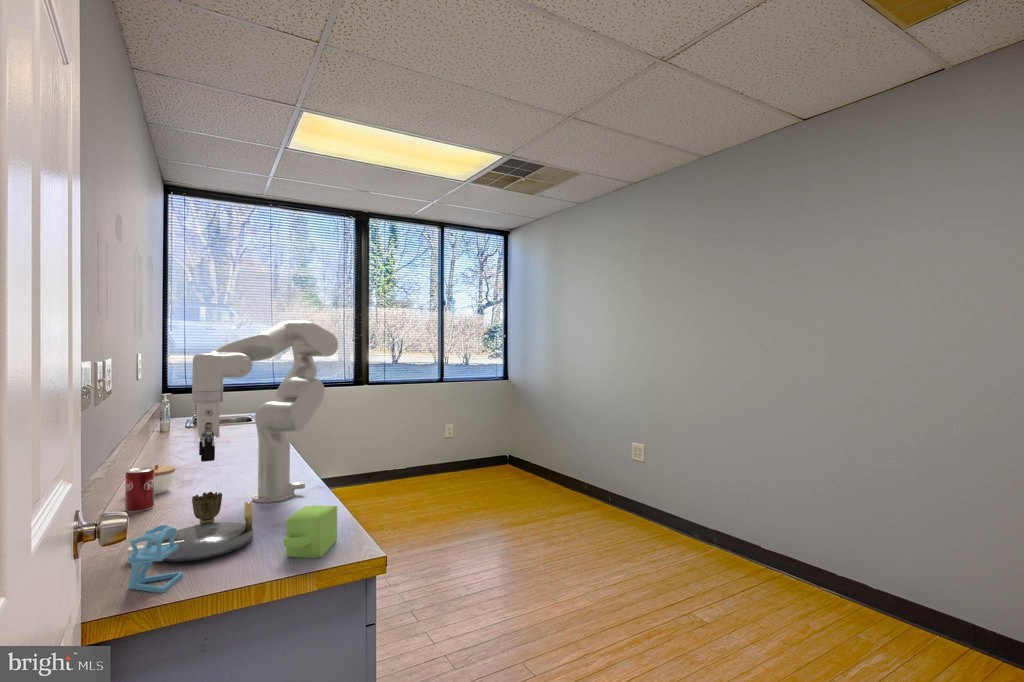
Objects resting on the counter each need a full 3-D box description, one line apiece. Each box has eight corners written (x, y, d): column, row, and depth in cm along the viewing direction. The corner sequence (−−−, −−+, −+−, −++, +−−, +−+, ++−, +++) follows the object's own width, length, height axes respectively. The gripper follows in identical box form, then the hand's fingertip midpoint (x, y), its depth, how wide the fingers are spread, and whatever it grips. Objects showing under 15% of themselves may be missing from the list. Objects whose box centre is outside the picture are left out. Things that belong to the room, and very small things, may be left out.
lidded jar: (137, 498, 166) (137, 470, 166) (135, 491, 174) (136, 463, 174) (176, 492, 173) (177, 465, 173) (173, 485, 181) (173, 459, 181)
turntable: (246, 521, 142) (246, 491, 142) (259, 547, 124) (259, 513, 124) (150, 538, 129) (150, 505, 129) (148, 569, 111) (148, 532, 111)
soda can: (122, 514, 151) (122, 473, 151) (127, 507, 157) (128, 468, 157) (152, 510, 154) (152, 471, 154) (156, 504, 160) (156, 466, 160)
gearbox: (306, 534, 136) (306, 498, 136) (343, 535, 135) (343, 499, 136) (272, 563, 118) (273, 522, 118) (314, 564, 117) (315, 523, 118)
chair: (143, 577, 110) (144, 521, 110) (184, 575, 111) (184, 520, 111) (119, 594, 103) (120, 535, 103) (163, 593, 103) (164, 534, 103)
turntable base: (232, 533, 136) (232, 521, 136) (238, 550, 125) (238, 538, 125) (129, 551, 124) (129, 539, 124) (126, 573, 112) (126, 559, 112)
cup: (199, 530, 138) (200, 500, 138) (186, 525, 142) (186, 496, 142) (227, 522, 144) (227, 494, 144) (213, 517, 148) (213, 490, 148)
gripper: (225, 399, 139) (224, 462, 138) (220, 394, 153) (219, 451, 153) (193, 400, 134) (192, 465, 134) (190, 395, 149) (189, 453, 148)
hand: (206, 457), depth 143 cm, fingers open, 9 cm apart
